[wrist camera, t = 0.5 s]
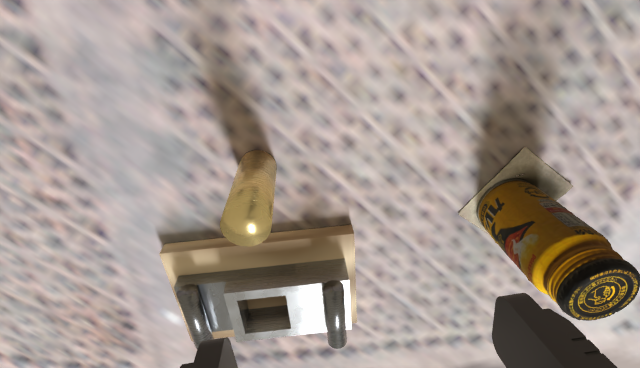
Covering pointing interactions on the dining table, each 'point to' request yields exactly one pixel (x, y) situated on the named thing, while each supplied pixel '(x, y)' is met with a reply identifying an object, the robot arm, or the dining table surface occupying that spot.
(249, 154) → the brass pin
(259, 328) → the clamp block fixture
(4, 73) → the dining table surface
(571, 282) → the condiment
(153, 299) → the dining table surface
